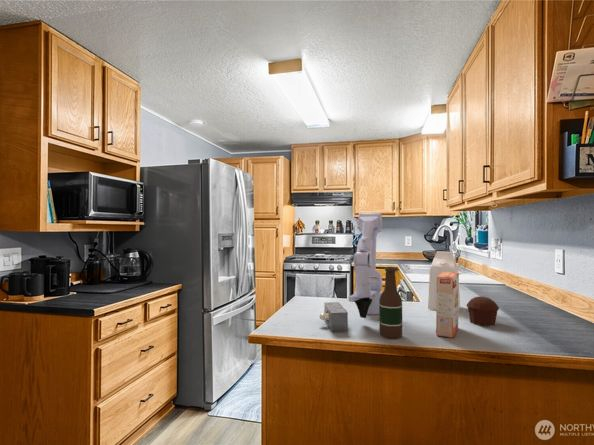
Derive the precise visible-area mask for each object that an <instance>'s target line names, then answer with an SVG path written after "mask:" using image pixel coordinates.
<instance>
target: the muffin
mask: <svg viewBox="0 0 594 445" xmlns="http://www.w3.org/2000/svg"><path fill="white" fill-rule="evenodd" d="M466 307H467V312H468V316H469V322H470V323H471V324H473V325H475V326H480V327H495V326H496V321H497V316H498V311H499V309H500V306H498V304H497V303H496V302H495V301H494V300H493V299H491V298H489V297H486V296H480V295H479V296H473V298H471V299H469V301H468V302H467V303H466Z"/></svg>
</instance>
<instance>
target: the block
mask: <svg viewBox="0 0 594 445" xmlns="http://www.w3.org/2000/svg"><path fill="white" fill-rule="evenodd" d="M323 307H324V309H323V310H324V312H323V313H329V320H324V321H325V323H326V325H327V327H328V329H329V330H330V332H331V333H344V332H348V331H349V327H348V326H349V324H348V323H349V321H348V320H349V318H348V315H349V314H348V313H349V312H348V310H347V309H346V308H345V307H344V306H343V305H342V304H341V303H340V302H339V301H336V302H335V301H334V302H333V301H332V302H324V304H323Z"/></svg>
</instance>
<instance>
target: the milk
mask: <svg viewBox="0 0 594 445" xmlns="http://www.w3.org/2000/svg"><path fill="white" fill-rule="evenodd" d="M443 272H453V273H459V266H458V264H457V261H456V259H455V257H454V255H453V253H452V251H438V250H437V251H436V252H435V255H434V257H433V260H432V262H431V265H430V268H429V278H428V279H429V281H428V283H429V284H428V297H427V298H428V300H427V301H428V302H427V309H428V310H433V311H434V310H435V311H436V288H437V276H439V275H440V274H441V273H443ZM460 298H461V295H460V288H459V289H458V311H459V310H460V308H461V299H460Z"/></svg>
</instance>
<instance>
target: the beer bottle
mask: <svg viewBox="0 0 594 445" xmlns="http://www.w3.org/2000/svg"><path fill="white" fill-rule="evenodd" d="M384 268H385V269H384V271H385V277H384V278H385V281H384V288H383V289H384V290H383V291H382V292H383V293H382V294H381V296H380V301H379V314H378V315H379V317H378V318H379V335H380V336H381V338H383V337H384V338H383V339H389V340H399V339H400V338H402V337H403V300H402V297H401V294H400V293H399V292H398V289H397V288H398V287H397V280H396V279H397V278H396V271H397V269H396V268H395V267H393V266H387V267H384Z"/></svg>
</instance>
